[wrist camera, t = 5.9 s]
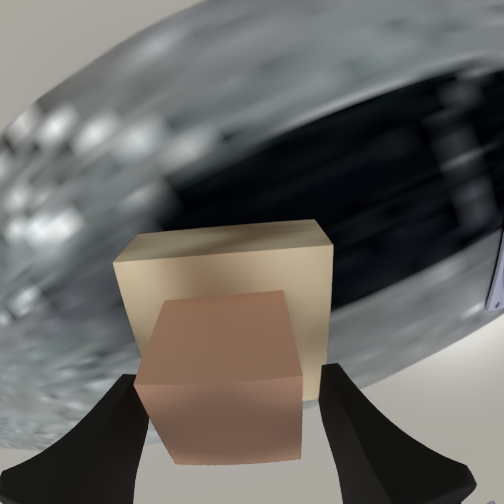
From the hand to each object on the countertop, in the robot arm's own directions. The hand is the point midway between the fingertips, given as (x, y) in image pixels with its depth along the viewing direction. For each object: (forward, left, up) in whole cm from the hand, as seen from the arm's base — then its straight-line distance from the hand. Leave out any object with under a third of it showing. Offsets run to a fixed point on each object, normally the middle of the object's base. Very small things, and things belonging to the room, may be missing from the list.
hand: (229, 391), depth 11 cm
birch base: (0, 0, -6) cm, 6 cm away
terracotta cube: (0, 0, -3) cm, 3 cm away
